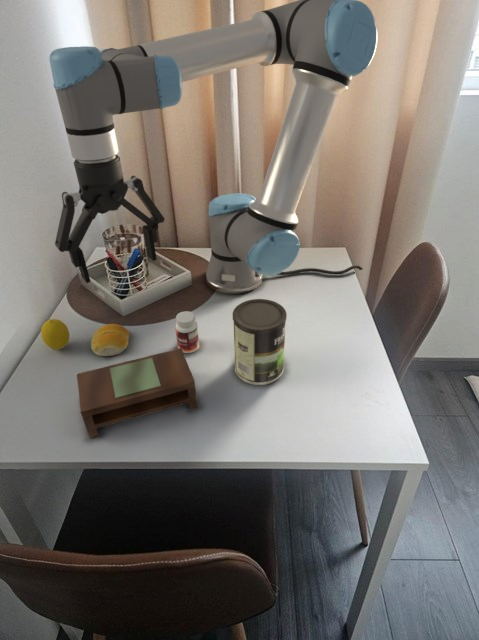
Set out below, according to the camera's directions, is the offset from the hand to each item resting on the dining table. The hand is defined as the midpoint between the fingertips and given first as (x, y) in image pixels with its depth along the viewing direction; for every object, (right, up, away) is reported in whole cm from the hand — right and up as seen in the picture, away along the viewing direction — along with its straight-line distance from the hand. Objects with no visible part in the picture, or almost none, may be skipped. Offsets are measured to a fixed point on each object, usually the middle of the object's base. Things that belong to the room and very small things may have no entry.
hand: (120, 268), depth 86 cm
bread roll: (-6, -16, +14) cm, 22 cm away
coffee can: (+27, -20, +7) cm, 35 cm away
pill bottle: (+12, -16, +13) cm, 24 cm away
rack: (+4, -26, -1) cm, 27 cm away
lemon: (-17, -17, +13) cm, 27 cm away
